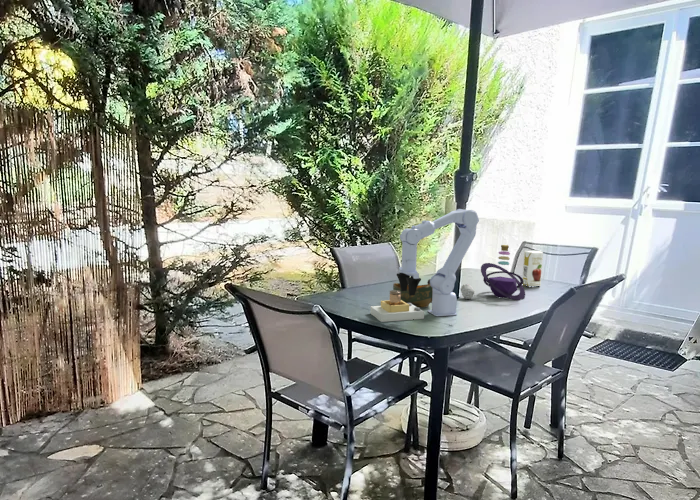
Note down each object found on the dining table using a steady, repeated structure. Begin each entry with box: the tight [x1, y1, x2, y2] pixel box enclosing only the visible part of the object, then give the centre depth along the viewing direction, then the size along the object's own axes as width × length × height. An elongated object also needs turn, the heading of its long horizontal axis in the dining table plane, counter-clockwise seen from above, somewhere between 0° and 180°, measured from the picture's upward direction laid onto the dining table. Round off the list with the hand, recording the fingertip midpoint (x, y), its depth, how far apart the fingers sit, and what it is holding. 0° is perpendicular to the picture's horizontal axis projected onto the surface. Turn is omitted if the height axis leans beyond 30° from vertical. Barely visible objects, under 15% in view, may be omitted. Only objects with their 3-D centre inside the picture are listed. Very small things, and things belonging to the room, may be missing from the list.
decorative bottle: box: [480, 244, 526, 301], centre depth 215 cm, size 22×21×25 cm
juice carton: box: [521, 250, 544, 287], centre depth 241 cm, size 8×9×19 cm
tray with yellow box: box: [370, 299, 425, 323], centre depth 180 cm, size 18×12×6 cm, turn 108°
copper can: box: [389, 289, 401, 306], centre depth 179 cm, size 4×4×7 cm
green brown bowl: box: [392, 282, 433, 309], centre depth 198 cm, size 13×20×10 cm, turn 28°
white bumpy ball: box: [460, 283, 475, 300], centre depth 211 cm, size 6×7×7 cm
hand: (407, 293), depth 179 cm, fingers open, 7 cm apart
